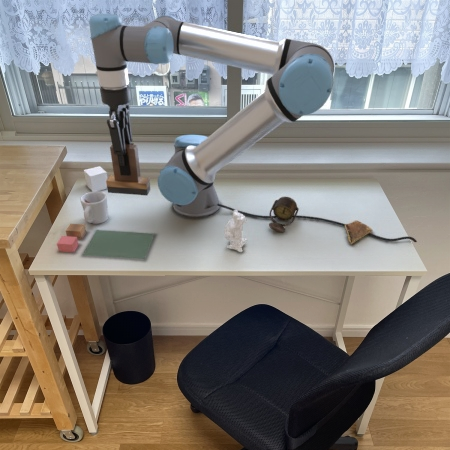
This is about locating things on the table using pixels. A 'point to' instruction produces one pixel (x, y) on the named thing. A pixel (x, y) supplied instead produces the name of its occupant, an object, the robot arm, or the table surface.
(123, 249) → the desk mat
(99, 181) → the white cube
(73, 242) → the eraser block
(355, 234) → the shard
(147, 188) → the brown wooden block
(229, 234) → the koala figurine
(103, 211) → the cup
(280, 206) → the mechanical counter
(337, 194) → the table surface
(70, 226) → the cork block
